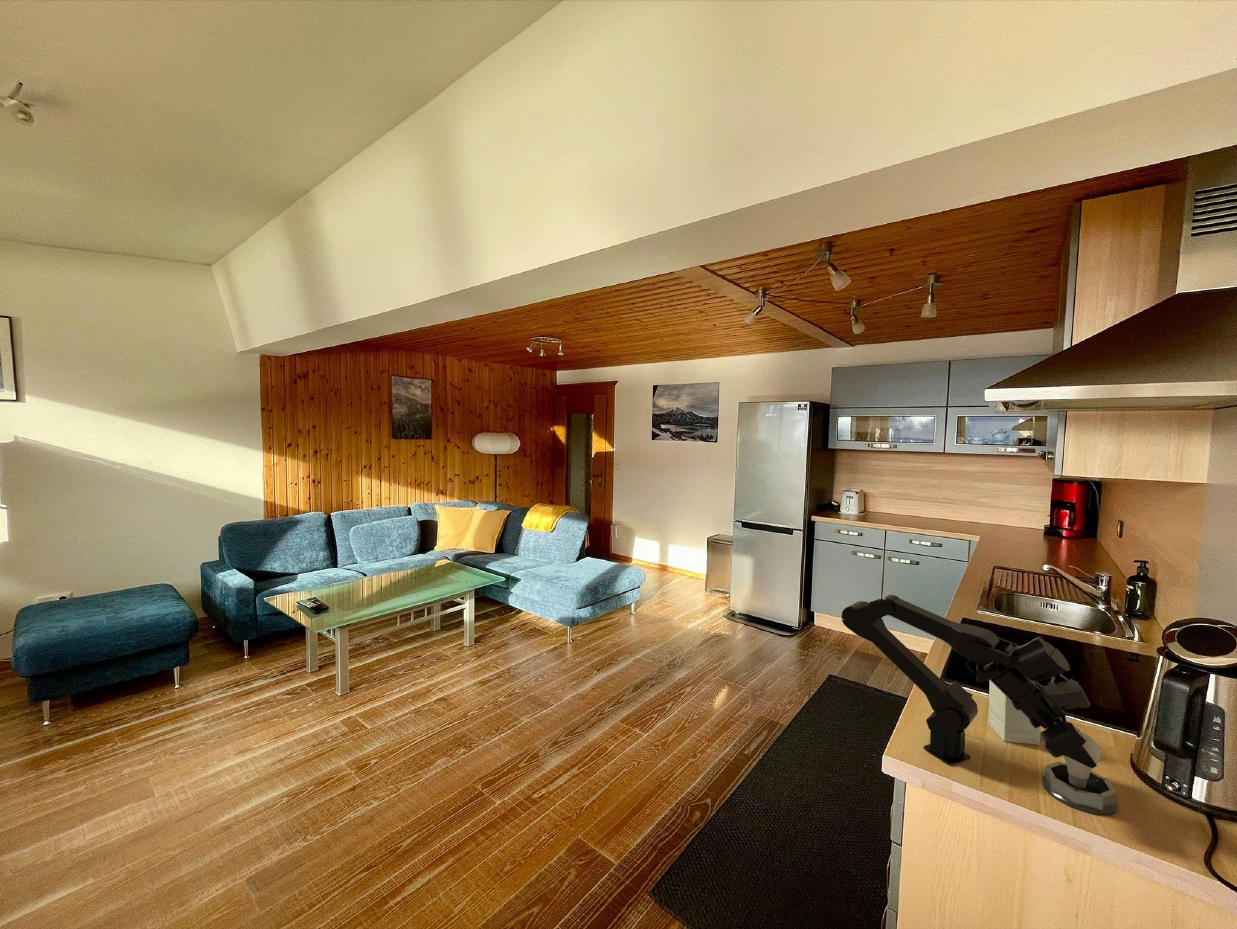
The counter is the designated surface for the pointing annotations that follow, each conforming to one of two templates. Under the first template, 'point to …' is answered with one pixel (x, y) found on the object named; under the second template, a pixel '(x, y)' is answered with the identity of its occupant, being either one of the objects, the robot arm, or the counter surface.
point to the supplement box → (1010, 719)
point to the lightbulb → (1081, 771)
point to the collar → (1080, 791)
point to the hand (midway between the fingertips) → (1088, 757)
